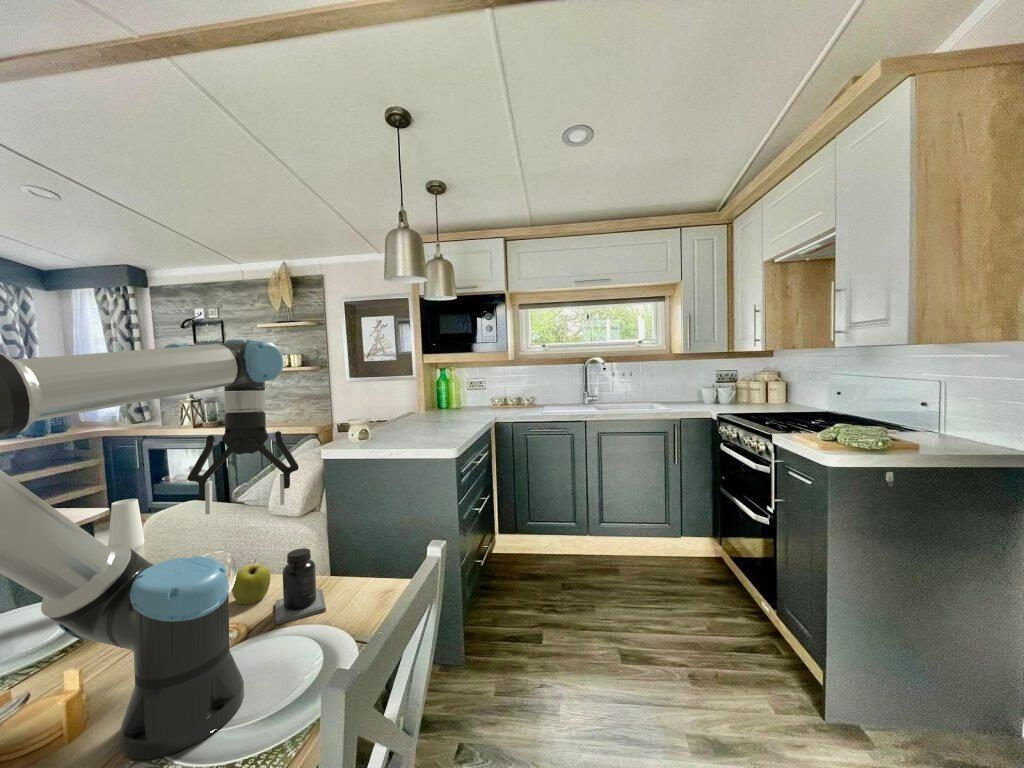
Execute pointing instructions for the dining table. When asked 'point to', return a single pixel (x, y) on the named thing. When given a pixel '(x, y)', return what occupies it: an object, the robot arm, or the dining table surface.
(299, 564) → the supplement bottle
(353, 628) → the dining table surface
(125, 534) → the champagne flute
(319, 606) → the slate coaster
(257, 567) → the apple
